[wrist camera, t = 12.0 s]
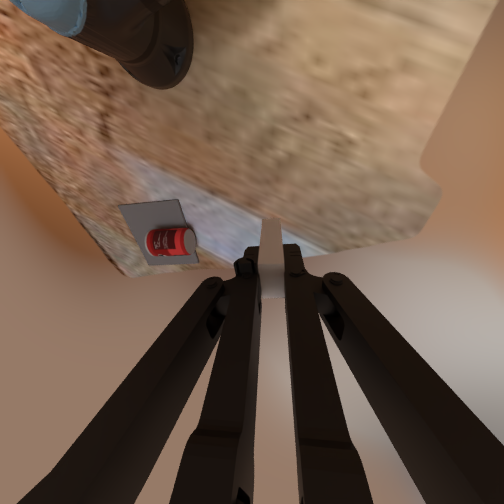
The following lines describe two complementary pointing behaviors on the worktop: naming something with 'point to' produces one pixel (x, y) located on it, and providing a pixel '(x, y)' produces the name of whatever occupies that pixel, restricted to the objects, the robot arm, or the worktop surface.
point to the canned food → (170, 242)
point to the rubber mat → (156, 226)
